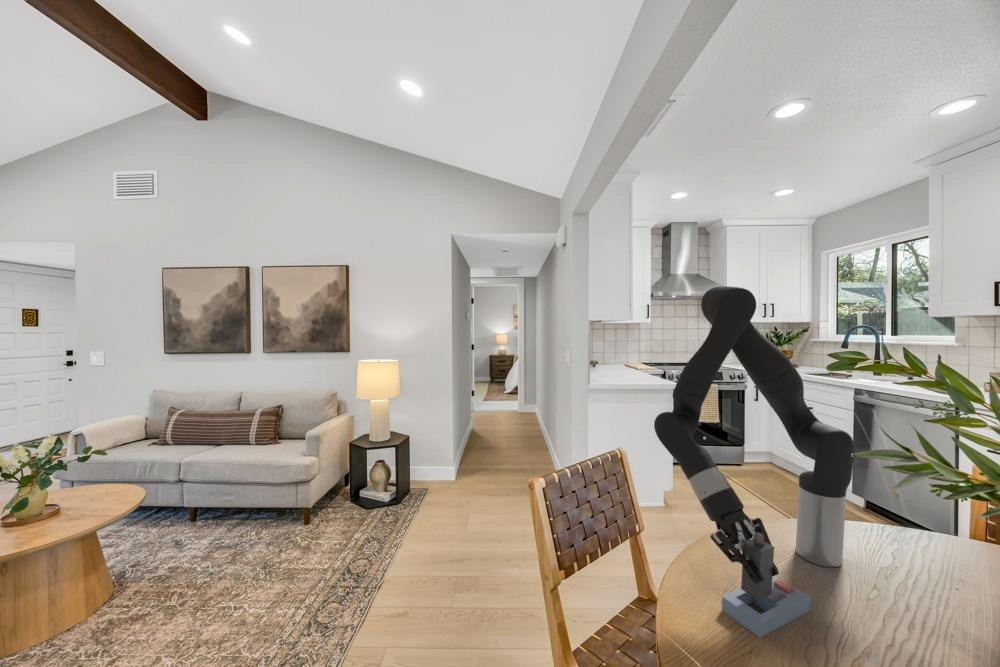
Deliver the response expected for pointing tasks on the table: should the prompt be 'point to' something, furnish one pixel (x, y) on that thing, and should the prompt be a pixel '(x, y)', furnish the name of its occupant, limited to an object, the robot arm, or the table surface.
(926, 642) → the table surface
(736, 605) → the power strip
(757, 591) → the black plug
